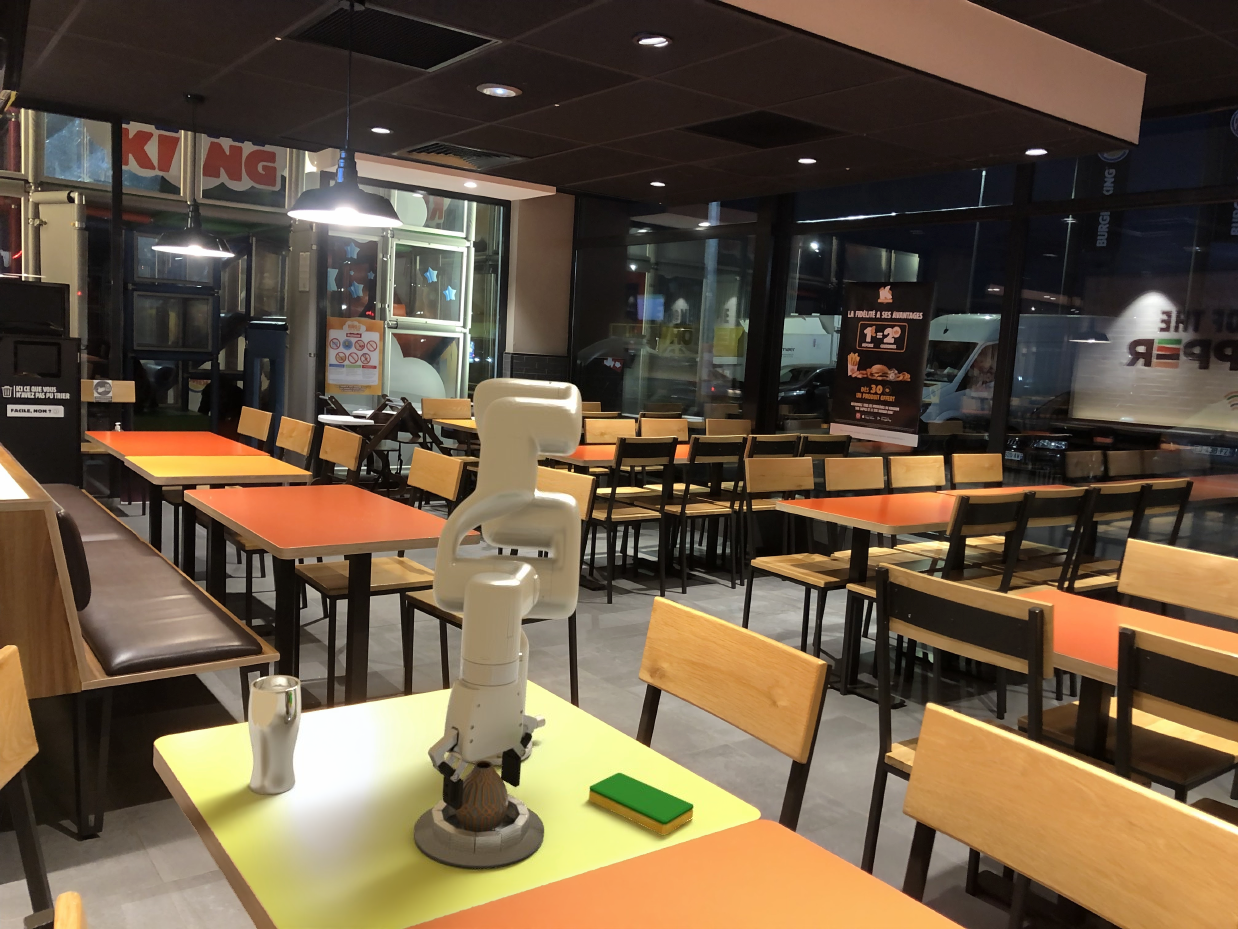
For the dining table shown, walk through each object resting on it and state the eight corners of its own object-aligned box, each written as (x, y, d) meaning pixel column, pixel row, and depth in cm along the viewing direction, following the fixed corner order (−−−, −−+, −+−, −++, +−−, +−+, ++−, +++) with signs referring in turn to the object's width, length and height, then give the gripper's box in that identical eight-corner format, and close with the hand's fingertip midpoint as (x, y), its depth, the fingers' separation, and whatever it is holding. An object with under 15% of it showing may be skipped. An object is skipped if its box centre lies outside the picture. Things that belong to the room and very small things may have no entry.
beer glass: (281, 800, 127) (284, 695, 125) (235, 791, 129) (238, 688, 127) (307, 778, 134) (311, 678, 132) (264, 770, 135) (267, 671, 134)
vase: (482, 847, 118) (486, 782, 116) (442, 828, 121) (445, 765, 120) (516, 825, 123) (520, 763, 122) (477, 808, 127) (481, 748, 126)
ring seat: (488, 791, 134) (489, 771, 134) (570, 838, 123) (571, 816, 123) (387, 829, 122) (388, 807, 121) (468, 885, 110) (470, 862, 110)
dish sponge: (618, 786, 140) (619, 771, 139) (693, 820, 131) (694, 804, 131) (587, 802, 134) (588, 786, 134) (663, 838, 125) (665, 822, 125)
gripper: (520, 648, 129) (513, 765, 131) (416, 674, 116) (410, 803, 118) (557, 663, 124) (549, 785, 126) (453, 692, 111) (445, 827, 113)
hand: (481, 794), depth 122 cm, fingers open, 9 cm apart
